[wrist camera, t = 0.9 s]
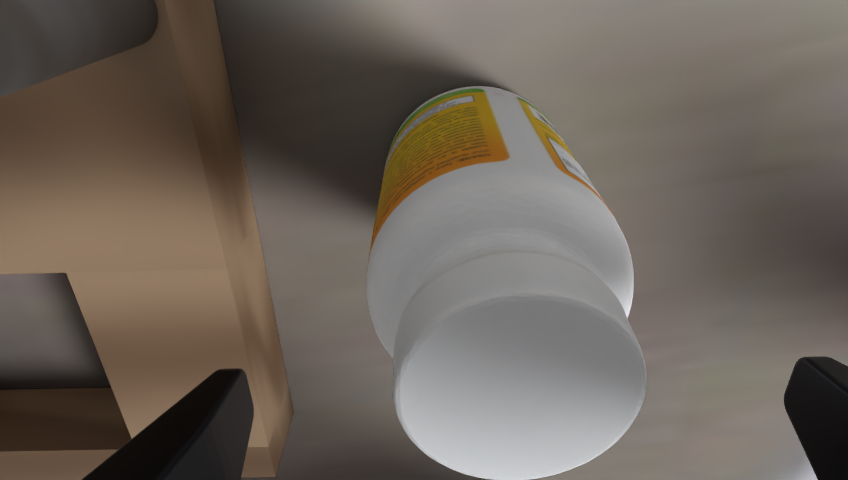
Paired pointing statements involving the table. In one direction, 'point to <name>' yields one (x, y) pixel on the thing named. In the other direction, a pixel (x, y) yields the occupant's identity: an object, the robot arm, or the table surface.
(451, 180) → the supplement bottle
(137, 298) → the socket plate
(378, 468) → the table surface
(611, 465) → the table surface
